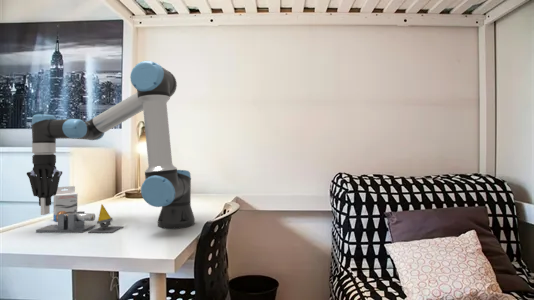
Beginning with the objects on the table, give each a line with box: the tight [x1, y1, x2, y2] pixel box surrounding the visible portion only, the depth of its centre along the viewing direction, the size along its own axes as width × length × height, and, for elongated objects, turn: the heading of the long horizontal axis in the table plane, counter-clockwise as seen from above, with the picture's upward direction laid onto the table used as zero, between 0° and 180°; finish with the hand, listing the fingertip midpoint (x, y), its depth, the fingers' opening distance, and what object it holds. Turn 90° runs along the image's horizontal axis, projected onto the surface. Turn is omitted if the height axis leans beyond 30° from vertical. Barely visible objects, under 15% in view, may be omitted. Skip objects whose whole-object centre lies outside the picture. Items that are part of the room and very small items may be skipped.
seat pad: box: [88, 225, 124, 234], centre depth 119 cm, size 9×9×1 cm
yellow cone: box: [96, 203, 113, 229], centre depth 120 cm, size 5×5×10 cm
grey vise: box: [35, 210, 96, 234], centre depth 120 cm, size 18×8×7 cm, turn 88°
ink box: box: [52, 185, 78, 223], centre depth 138 cm, size 8×5×15 cm, turn 134°
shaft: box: [55, 211, 96, 223], centre depth 120 cm, size 13×5×5 cm, turn 88°
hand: (45, 214), depth 120 cm, fingers closed
